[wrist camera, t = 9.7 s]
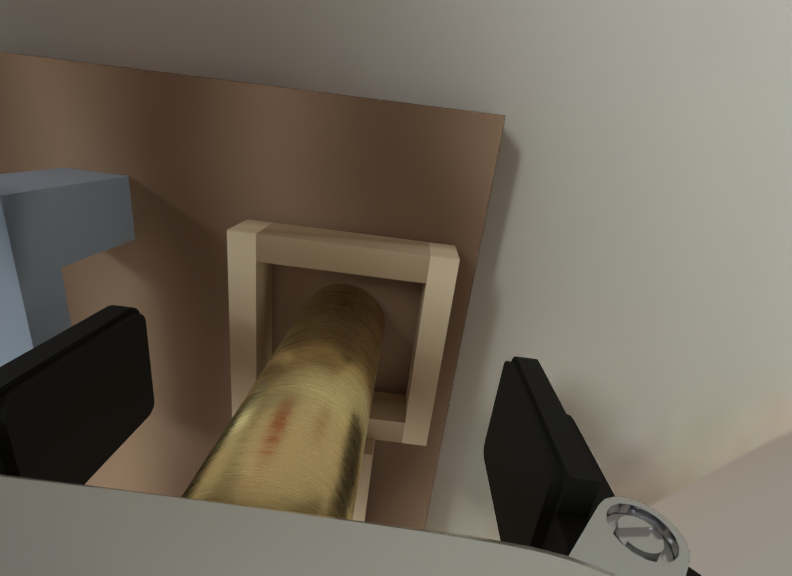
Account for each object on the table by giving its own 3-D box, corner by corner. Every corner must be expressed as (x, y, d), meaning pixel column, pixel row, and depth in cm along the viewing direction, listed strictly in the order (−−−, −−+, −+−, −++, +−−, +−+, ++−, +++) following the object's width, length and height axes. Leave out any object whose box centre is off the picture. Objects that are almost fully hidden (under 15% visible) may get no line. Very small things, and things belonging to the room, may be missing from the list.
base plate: (33, 538, 21) (5, 568, 20) (-103, 41, 13) (-165, 31, 12) (407, 587, 21) (406, 620, 19) (495, 117, 13) (505, 115, 12)
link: (247, 219, 13) (215, 236, 11) (454, 245, 13) (462, 267, 11) (251, 607, 19) (231, 664, 17) (388, 625, 19) (385, 684, 17)
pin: (304, 278, 14) (122, 515, 5) (388, 288, 14) (343, 543, 5) (301, 352, 15) (144, 652, 6) (380, 362, 15) (330, 675, 6)
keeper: (96, 369, 15) (-14, 451, 11) (63, 167, 13) (-94, 184, 9) (150, 375, 15) (58, 460, 11) (128, 176, 13) (-1, 196, 9)
